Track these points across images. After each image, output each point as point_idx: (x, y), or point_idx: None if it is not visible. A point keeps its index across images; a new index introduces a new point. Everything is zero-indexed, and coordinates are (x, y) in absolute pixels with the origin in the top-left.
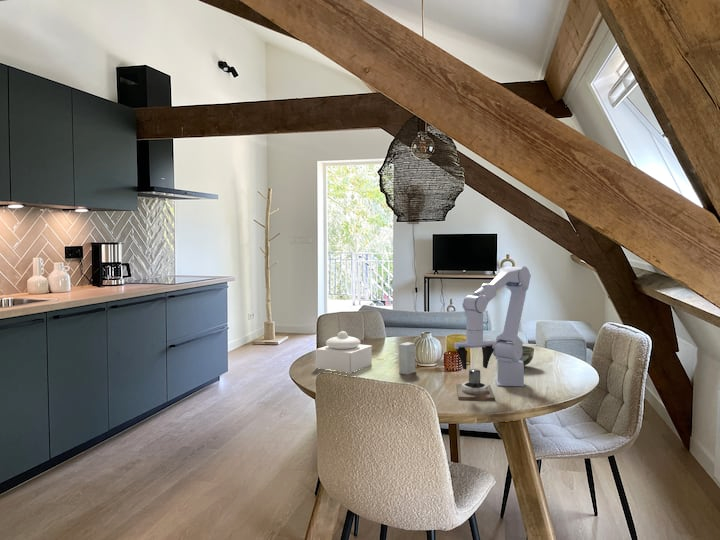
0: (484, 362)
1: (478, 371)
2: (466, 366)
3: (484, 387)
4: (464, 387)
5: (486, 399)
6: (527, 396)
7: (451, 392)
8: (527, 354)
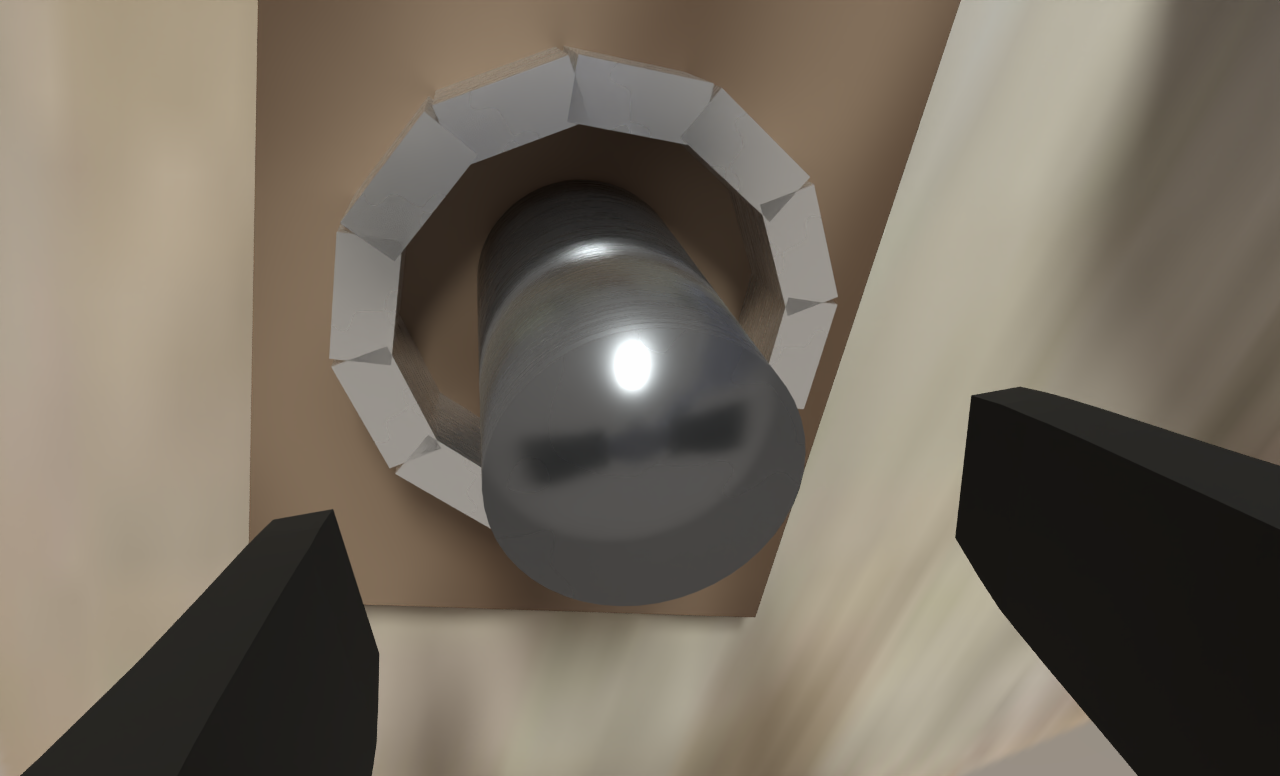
0: (1066, 570)
1: (725, 557)
2: (373, 748)
3: None
4: (370, 420)
5: None
6: (1185, 435)
7: (145, 188)
8: None
